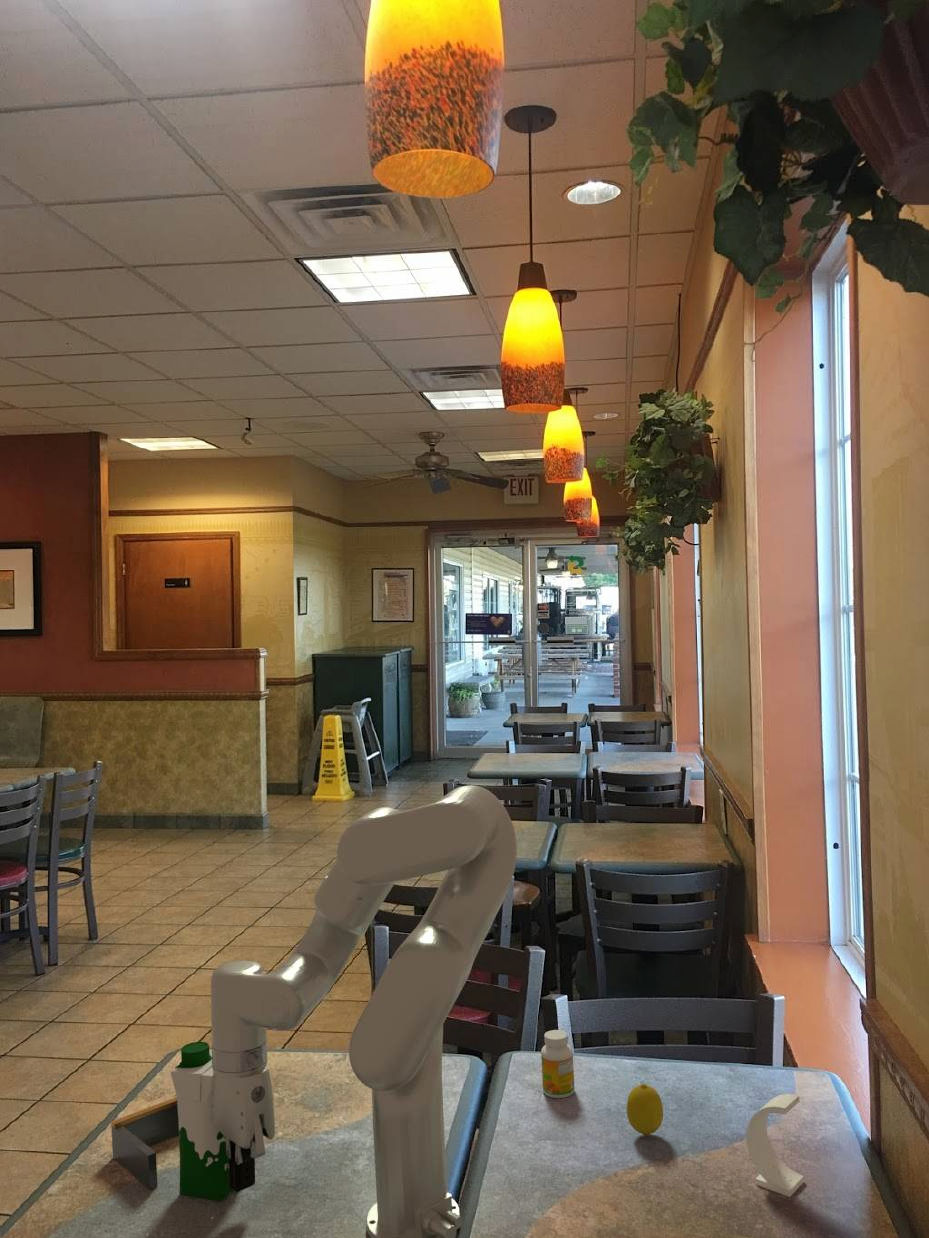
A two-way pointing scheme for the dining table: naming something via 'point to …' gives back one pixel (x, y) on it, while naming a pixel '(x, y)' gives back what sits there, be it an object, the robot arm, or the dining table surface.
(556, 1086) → the supplement bottle
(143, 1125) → the bracket
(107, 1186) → the dining table surface
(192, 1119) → the soya milk
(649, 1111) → the lemon
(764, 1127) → the headphone stand
